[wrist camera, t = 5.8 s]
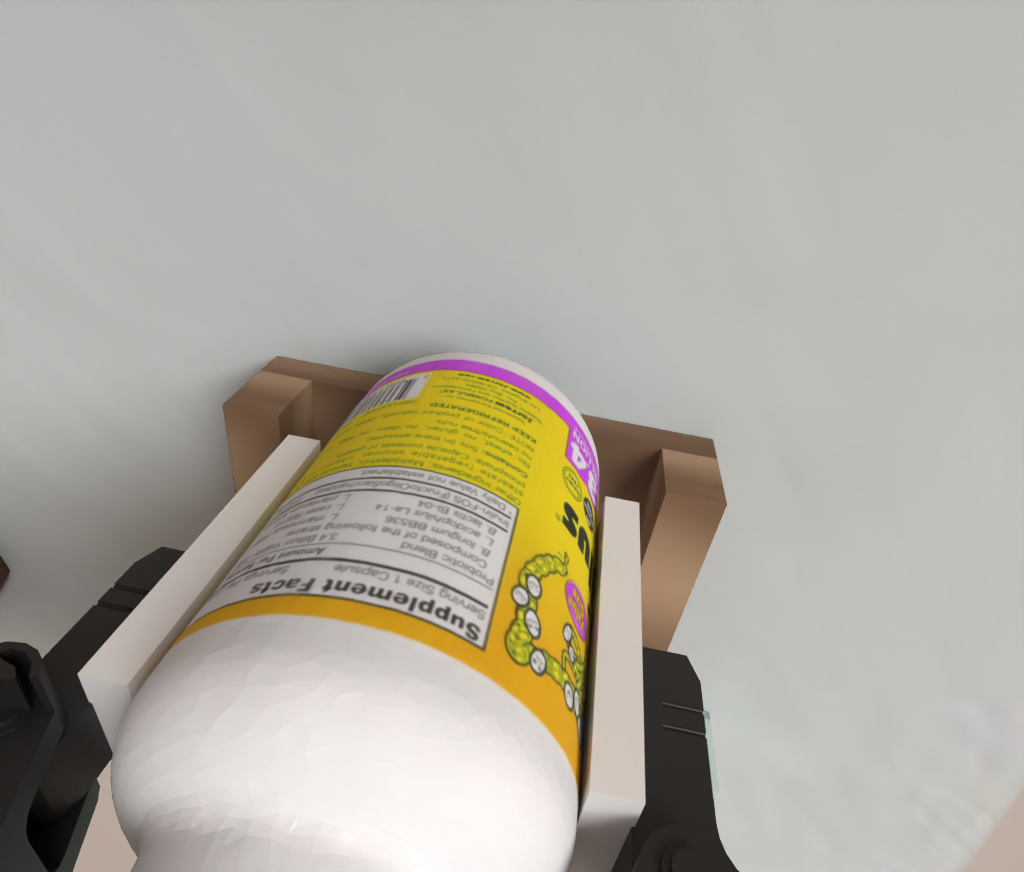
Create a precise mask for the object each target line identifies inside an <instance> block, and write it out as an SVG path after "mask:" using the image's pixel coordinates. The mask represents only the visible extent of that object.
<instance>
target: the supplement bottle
mask: <svg viewBox="0 0 1024 872" xmlns="http://www.w3.org/2000/svg"><path fill="white" fill-rule="evenodd" d="M598 503H599V464H598V457H597V452H596V448H595V444H594V442H593V439H592V436H591V433H590V431H589V429H588V427H587V425H586V423H585V422H584V420H583V418H582V416H581V415H580V413H579V412H578V411H577V409H576V408H575V407H574V405H573V404H572V403H571V402H570V401H569V399H568V398H567V397H566V396H565V395H564V394H563V393H562V392H561V391H560V390H559V389H558V388H556V387H555V386H554V385H553V384H552V383H551V382H549V381H548V380H547V379H545V378H544V377H542V376H541V375H539V374H537V373H536V372H534V371H533V370H531V369H529V368H527V367H525V366H523V365H521V364H518V363H516V362H514V361H511V360H508V359H506V358H502V357H498V356H493V355H487V354H481V353H472V352H446V353H438V354H434V355H429V356H425V357H421V358H418V359H415V360H413V361H410V362H408V363H406V364H404V365H401V366H399V367H398V368H396V369H395V370H393V371H391V372H390V373H389V374H387V375H386V376H384V377H383V378H382V379H381V380H379V381H378V382H377V383H376V384H375V385H374V386H373V388H372V389H371V390H370V391H369V392H368V393H367V394H366V395H365V396H364V398H363V399H362V400H361V401H360V402H359V403H358V405H357V406H356V407H355V409H354V410H353V411H352V412H351V414H350V415H349V416H348V418H347V419H346V420H345V422H344V423H343V424H342V425H341V427H340V428H339V429H338V430H337V432H336V433H335V434H334V436H333V437H332V438H331V440H330V441H329V442H328V444H327V445H326V446H325V448H324V449H323V450H322V452H321V453H320V454H319V456H318V457H317V458H316V459H315V461H314V462H313V463H312V465H311V466H310V468H309V469H308V470H307V472H306V473H305V474H304V475H303V477H302V478H301V479H300V480H299V482H298V483H297V484H296V486H295V487H294V488H293V490H292V491H291V492H290V494H289V495H288V497H287V498H286V499H285V500H284V502H283V503H282V504H281V505H280V507H279V508H278V510H277V511H276V512H275V514H274V515H273V516H272V518H271V519H270V520H269V522H268V523H267V524H266V525H265V527H264V528H263V529H262V531H261V532H260V533H259V535H258V536H257V537H256V539H255V540H254V541H253V543H252V544H251V545H250V546H249V548H248V549H247V550H246V552H245V553H244V554H243V555H242V557H241V558H240V559H239V561H238V562H237V563H236V564H235V566H234V567H233V568H232V570H231V571H230V572H229V574H228V575H227V576H226V577H225V579H224V580H223V581H222V583H221V584H220V585H219V587H218V588H217V589H216V591H215V592H214V593H213V595H212V596H211V597H210V598H209V599H208V601H207V602H206V603H205V605H204V606H203V607H202V608H201V610H200V611H199V612H198V613H197V615H196V616H195V617H194V619H193V620H192V621H191V623H190V624H189V625H188V626H187V628H186V629H185V630H184V632H183V633H182V634H181V635H180V636H179V637H178V638H177V640H176V641H175V642H174V644H173V645H172V647H171V648H170V649H169V651H168V652H167V653H166V655H165V656H164V657H163V659H162V660H161V661H160V663H159V664H158V665H157V667H156V668H155V669H154V671H153V672H152V673H151V674H150V676H149V677H148V678H147V680H146V681H145V682H144V684H143V685H142V687H141V688H140V689H139V691H138V692H137V694H136V695H135V697H134V699H133V700H132V702H131V704H130V705H129V707H128V709H127V710H126V713H125V715H124V717H123V719H122V722H121V725H120V728H119V731H118V734H117V738H116V741H115V744H114V750H113V755H112V763H111V789H112V798H113V803H114V807H115V811H116V814H117V817H118V820H119V823H120V826H121V828H122V831H123V833H124V835H125V836H126V838H127V840H128V842H129V844H130V846H131V848H132V849H133V851H134V852H135V854H136V855H137V857H138V859H137V861H136V863H135V864H134V866H133V868H132V870H131V872H569V869H570V866H571V862H572V857H573V851H574V845H575V840H576V829H577V814H578V808H579V793H580V775H581V759H582V744H583V726H584V709H585V701H586V680H587V667H588V654H589V637H590V624H591V612H592V595H593V580H594V569H595V551H596V536H597V519H598Z"/></svg>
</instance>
